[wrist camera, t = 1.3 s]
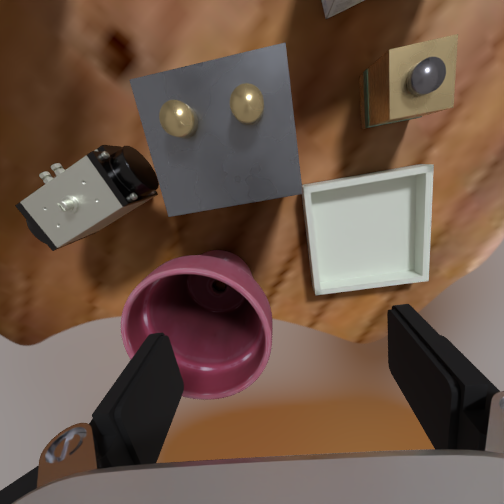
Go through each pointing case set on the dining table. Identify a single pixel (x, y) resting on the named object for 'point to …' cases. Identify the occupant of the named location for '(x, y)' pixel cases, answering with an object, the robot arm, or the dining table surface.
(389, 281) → the tray
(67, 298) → the dining table surface
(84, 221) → the pneumatic valve
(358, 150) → the dining table surface
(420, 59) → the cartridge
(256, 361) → the plant pot
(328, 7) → the light bulb box
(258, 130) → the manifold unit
